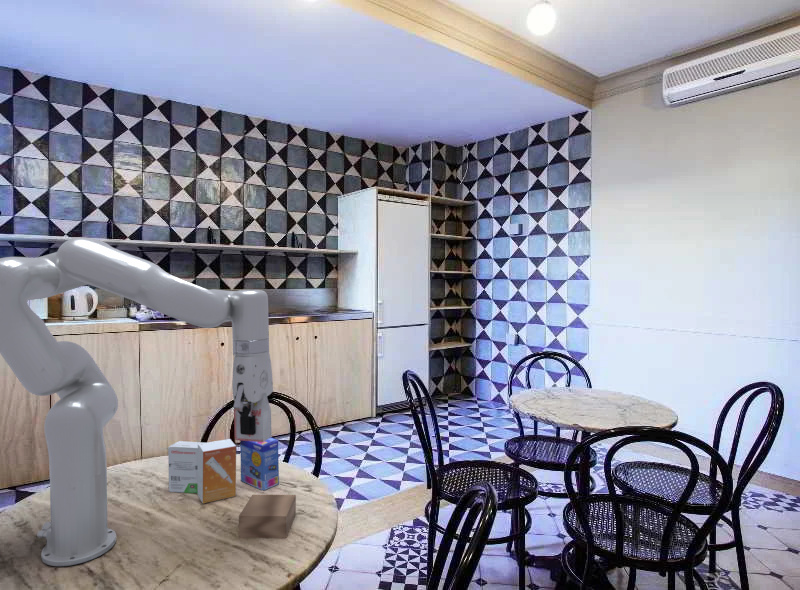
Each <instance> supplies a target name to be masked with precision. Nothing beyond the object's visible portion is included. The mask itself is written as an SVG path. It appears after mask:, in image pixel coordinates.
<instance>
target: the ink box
mask: <svg viewBox="0 0 800 590" xmlns="http://www.w3.org/2000/svg"><path fill="white" fill-rule="evenodd" d="M203 443H204V442H203V441H202V442H201V441H200V442H199V441H182V440H179V441H176V442H174V443H173V444H170V445H169V446H168V448H167V452H168V458H167V459H168V492H169V493H170V492H171V493H185V494H187V493H188V494H198V481H197V472H198V444H203Z"/></svg>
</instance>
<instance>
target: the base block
mask: <svg viewBox="0 0 800 590" xmlns="http://www.w3.org/2000/svg"><path fill="white" fill-rule="evenodd" d="M296 496H297V495H296V494H251V496H250V498H249V499H248V501H247V503H246V504H245V505H244V507H243V509H242V510H241V512H240V514H239V515H238V538H239V539H241V538H242V539H247V538H248V539H287V537H288V536H289V535H288V534H289V533H290V530H291V527H292V525H293V522H294V519H295V517H296V515H297V513H296V512H297V511H296V510H297V509H296V508H297V506H296V505H297V499H296V498H297V497H296Z"/></svg>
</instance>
